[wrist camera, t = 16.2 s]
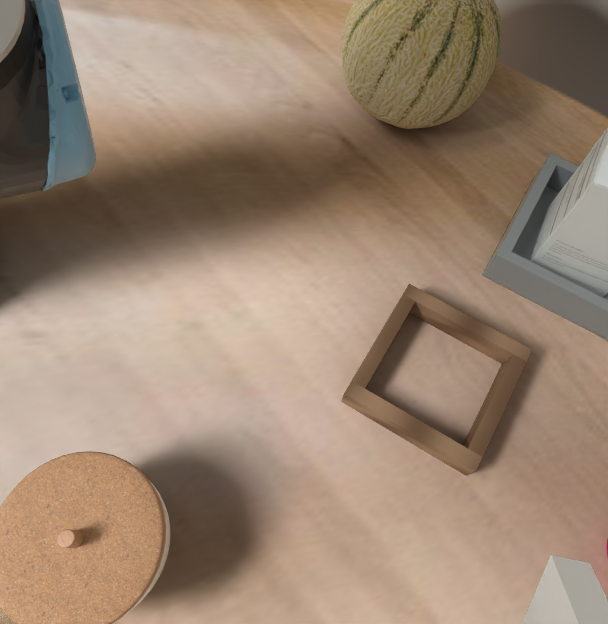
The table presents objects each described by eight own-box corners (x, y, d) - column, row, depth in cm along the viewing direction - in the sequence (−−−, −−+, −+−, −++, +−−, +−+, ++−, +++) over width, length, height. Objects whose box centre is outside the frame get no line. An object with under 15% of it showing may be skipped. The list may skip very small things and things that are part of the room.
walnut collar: (341, 401, 46) (344, 393, 44) (403, 296, 50) (409, 283, 48) (466, 475, 44) (476, 471, 42) (520, 359, 48) (532, 349, 46)
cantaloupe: (306, 106, 59) (313, -31, 45) (391, 34, 64) (421, -109, 50) (418, 184, 56) (462, 62, 42) (499, 102, 60) (563, -32, 47)
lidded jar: (139, 441, 45) (105, 413, 36) (210, 560, 41) (192, 561, 33) (12, 524, 42) (-59, 515, 33) (77, 660, 38) (18, 689, 30)
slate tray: (482, 275, 52) (496, 254, 48) (533, 178, 56) (550, 153, 53) (616, 345, 49) (642, 328, 46) (659, 237, 54) (685, 215, 50)
